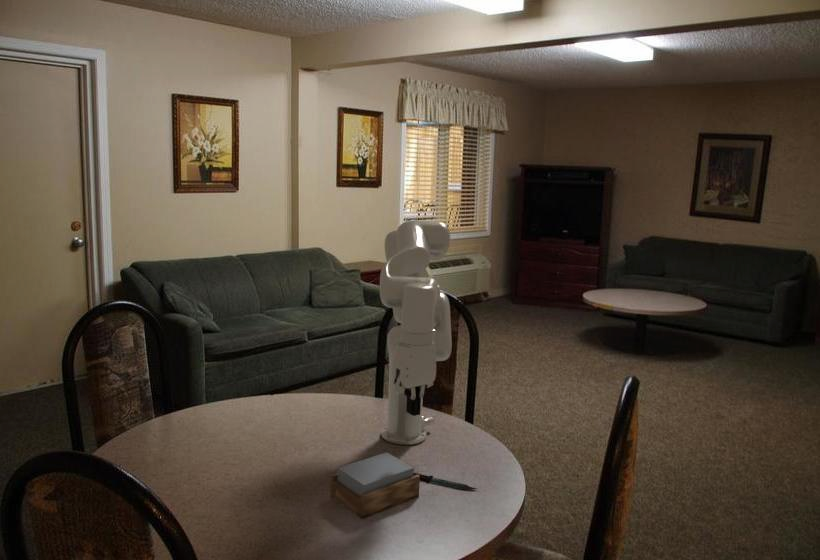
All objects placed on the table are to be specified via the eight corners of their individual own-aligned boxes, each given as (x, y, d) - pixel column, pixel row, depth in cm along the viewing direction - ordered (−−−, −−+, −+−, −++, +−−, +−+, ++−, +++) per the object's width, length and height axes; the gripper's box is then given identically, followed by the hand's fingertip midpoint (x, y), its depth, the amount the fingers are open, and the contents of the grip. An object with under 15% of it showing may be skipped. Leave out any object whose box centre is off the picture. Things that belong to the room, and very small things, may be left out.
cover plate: (386, 464, 154) (386, 452, 154) (413, 480, 147) (413, 467, 146) (337, 480, 145) (337, 468, 145) (363, 498, 138) (363, 485, 137)
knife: (393, 472, 157) (398, 466, 160) (393, 477, 158) (398, 472, 160) (476, 490, 150) (479, 484, 153) (476, 495, 150) (479, 489, 153)
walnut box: (386, 476, 156) (386, 456, 156) (418, 497, 148) (419, 475, 147) (330, 496, 146) (331, 474, 145) (362, 519, 137) (362, 496, 136)
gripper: (430, 329, 155) (427, 402, 158) (380, 337, 146) (377, 415, 149) (452, 336, 149) (447, 412, 152) (401, 346, 140) (397, 426, 143)
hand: (413, 413), depth 151 cm, fingers closed
